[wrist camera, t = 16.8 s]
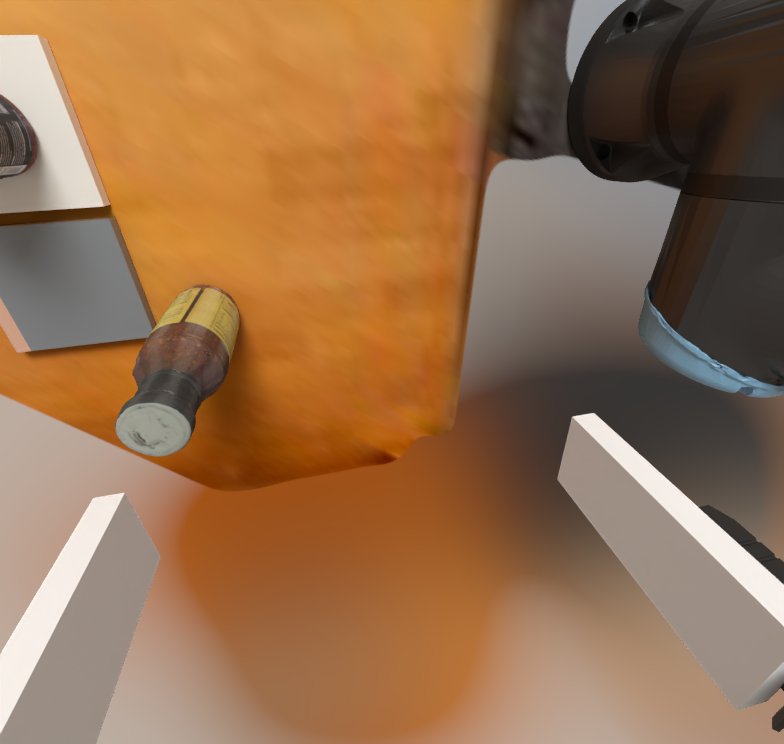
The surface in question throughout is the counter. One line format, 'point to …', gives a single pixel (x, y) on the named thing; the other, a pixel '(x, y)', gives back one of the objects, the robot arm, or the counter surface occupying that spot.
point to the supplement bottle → (15, 141)
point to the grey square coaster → (69, 285)
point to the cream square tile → (46, 133)
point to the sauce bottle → (179, 370)
